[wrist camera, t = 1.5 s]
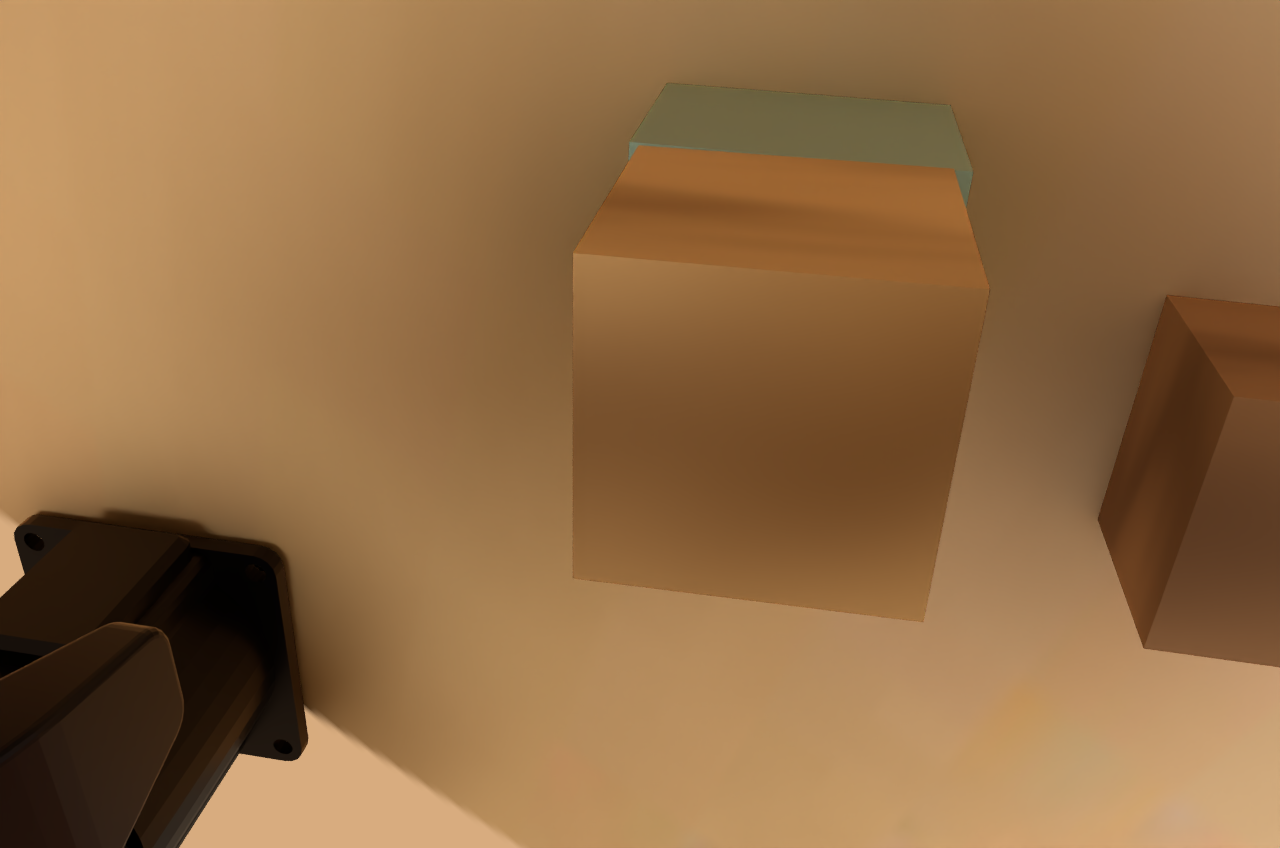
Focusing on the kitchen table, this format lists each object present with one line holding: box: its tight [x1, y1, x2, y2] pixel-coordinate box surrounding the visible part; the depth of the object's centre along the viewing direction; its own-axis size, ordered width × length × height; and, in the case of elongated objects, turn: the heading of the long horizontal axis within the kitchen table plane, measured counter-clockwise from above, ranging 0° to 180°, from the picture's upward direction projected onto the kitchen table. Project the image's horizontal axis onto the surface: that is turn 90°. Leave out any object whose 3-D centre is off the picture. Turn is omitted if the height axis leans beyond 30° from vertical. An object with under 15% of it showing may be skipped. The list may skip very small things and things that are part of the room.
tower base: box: [628, 83, 973, 207], centre depth 18 cm, size 5×5×4 cm
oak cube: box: [573, 145, 990, 622], centre depth 15 cm, size 4×4×4 cm
